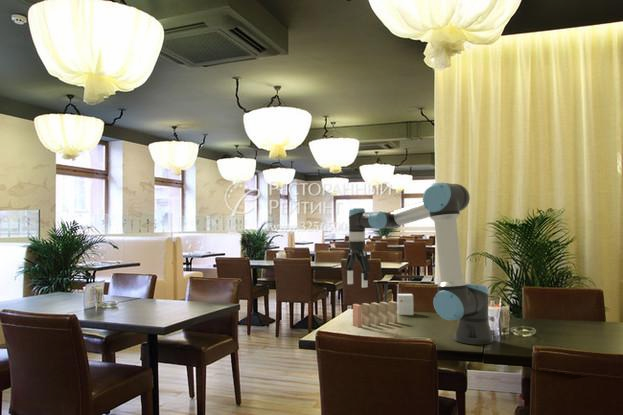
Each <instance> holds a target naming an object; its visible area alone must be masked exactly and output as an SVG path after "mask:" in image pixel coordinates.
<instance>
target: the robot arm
mask: <svg viewBox="0 0 623 415" xmlns="http://www.w3.org/2000/svg"><path fill="white" fill-rule="evenodd" d="M423 192H424V193H423V195H422V201H420V202H416V203H414V204H411V205H408V206H404V207H402V208H399V209H396V210H392V211H387V212H385V211H384V212H382V211H381V212H380V211H370V212H369V211H368V212H366V210H365V208H361V207H360V208H359V207H358V208H356V207H355V208H350V209H349V210H348V211H349V212H348V240H349V241H348V248H349V249H350V250H347V256H346V257H347V258H346V261H345V265H344V269H346V272H347V285H354V266H355V264H356V262H358V264H359V267H360V269H361V289H363V288H368V287H369V286H368V284H369V282H368V281H369V280H368V279H369V276H368V275H369V273H370V272H371V267H370V263H369V259H368V253H367V251H363V250H365V249H366V241H365V240H366V233H365V232H366V229H372V230H373V229H375V230H378V229H379V230H380V229H398V228H400V227H401V226H403V225H407V224H410V223H413V222H416V221H419V220H420V221H421V220H424V219H427V218H430V219H431V220H433V222H434V229H435V238H436V248H437V249H436V250H437V257H438V259H437V260H438V268H439V276H440V277H439V278H440V281H439V283H438V284H437V285H436V287H437V293H435V295H434V297H433V299H432V300H433V302H432V304H433V307H434V308H433V309H434V310H435V312H436V314H437V315H439V316H440V317H441V318H442V319H443V320H447V321H457V320H458V321H457V326H456V328H455V332H454V338H453V339H454V341H455V342H458V343H461V344H465V345H466V344H468V345H479V346H481V345H490V344H493V342H494V335H493V333H492V330H491V327H490V324H489V288H488V286H486V285H482V284H481V285H480V284H473V283H472V284H471V283H468V282H466V281H465V280H464V276H463V266H462V258H461V257H462V256H461V250H460V241H459V232H458V223H457V219H458V218H459V216H460V215H461V214H460V212H462V211H463V210H465V209H466V208H467V207H468V206H469V203H470V199H471V197H470V196H471V195H470V193H469V191H468V189H467V188H466V187H465V186H463V185H462V184H458V183H450V182H449V183H448V182H435V183H432V184H430V185H429V186H428V187H426V189H425V191H423Z"/></svg>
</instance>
